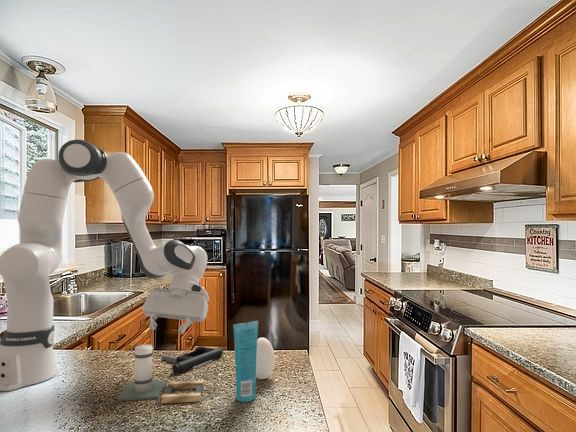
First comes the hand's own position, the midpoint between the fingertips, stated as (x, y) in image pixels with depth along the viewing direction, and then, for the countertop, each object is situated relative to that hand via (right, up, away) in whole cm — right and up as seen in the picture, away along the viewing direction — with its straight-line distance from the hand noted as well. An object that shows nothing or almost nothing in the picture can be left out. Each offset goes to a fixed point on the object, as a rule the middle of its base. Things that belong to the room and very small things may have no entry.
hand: (166, 330), depth 111 cm
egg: (+29, -13, -3) cm, 32 cm away
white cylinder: (-2, -12, -13) cm, 17 cm away
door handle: (+4, -14, +11) cm, 18 cm away
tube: (+26, -13, -16) cm, 33 cm away
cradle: (+9, -12, -14) cm, 21 cm away
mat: (-2, -12, -13) cm, 18 cm away
